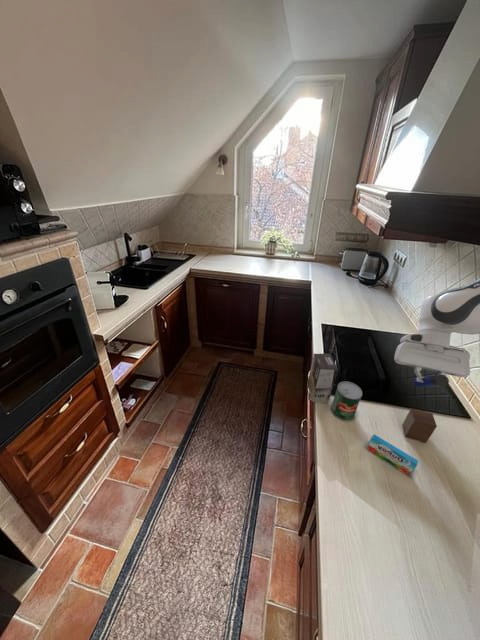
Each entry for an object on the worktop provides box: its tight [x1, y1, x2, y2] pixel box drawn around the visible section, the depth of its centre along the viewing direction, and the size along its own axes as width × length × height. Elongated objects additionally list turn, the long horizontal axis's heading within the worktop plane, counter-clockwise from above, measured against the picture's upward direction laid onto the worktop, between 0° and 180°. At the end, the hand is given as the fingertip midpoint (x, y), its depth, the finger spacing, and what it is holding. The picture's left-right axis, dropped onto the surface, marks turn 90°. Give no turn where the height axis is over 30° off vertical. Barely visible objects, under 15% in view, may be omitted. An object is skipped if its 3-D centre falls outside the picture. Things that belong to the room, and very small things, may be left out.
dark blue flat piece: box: [414, 374, 450, 388], centre depth 80 cm, size 13×3×13 cm, turn 160°
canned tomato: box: [330, 380, 363, 422], centre depth 88 cm, size 8×8×11 cm
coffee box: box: [306, 353, 339, 404], centre depth 93 cm, size 9×6×16 cm
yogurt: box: [365, 433, 419, 477], centre depth 74 cm, size 12×2×6 cm, turn 48°
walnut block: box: [401, 407, 438, 444], centre depth 81 cm, size 5×6×8 cm
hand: (428, 383), depth 81 cm, fingers closed on dark blue flat piece, 3 cm apart
